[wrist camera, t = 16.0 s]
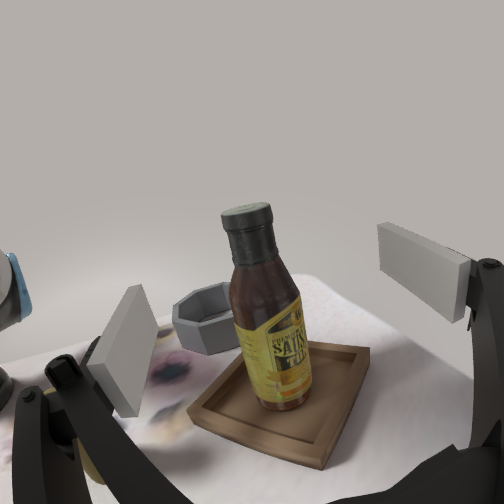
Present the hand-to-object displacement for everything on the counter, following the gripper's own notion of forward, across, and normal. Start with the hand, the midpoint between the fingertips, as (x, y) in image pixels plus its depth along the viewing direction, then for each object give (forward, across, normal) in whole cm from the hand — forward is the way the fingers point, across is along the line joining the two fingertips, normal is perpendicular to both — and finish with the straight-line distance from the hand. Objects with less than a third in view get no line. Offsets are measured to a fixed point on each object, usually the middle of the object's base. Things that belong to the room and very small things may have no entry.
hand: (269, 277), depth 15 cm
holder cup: (+27, -6, -19) cm, 34 cm away
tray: (+9, 0, -19) cm, 21 cm away
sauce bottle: (+9, 0, -18) cm, 20 cm away
